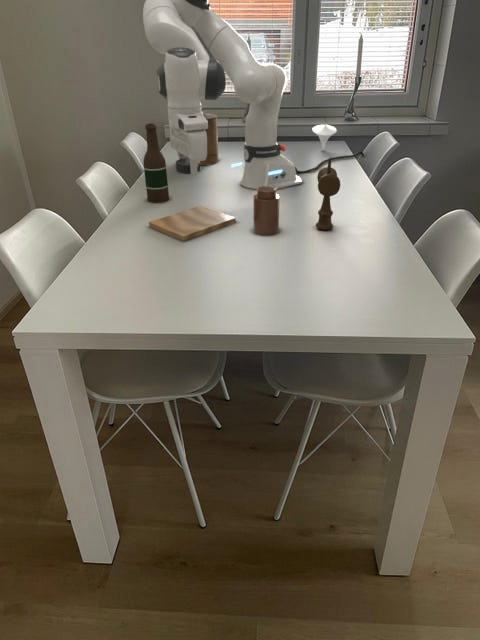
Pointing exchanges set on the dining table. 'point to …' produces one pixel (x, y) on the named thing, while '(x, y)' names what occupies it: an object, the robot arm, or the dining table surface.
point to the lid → (185, 166)
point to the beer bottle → (155, 168)
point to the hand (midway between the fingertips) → (188, 170)
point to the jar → (266, 211)
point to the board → (192, 223)
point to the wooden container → (211, 139)
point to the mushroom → (324, 133)
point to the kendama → (327, 195)
